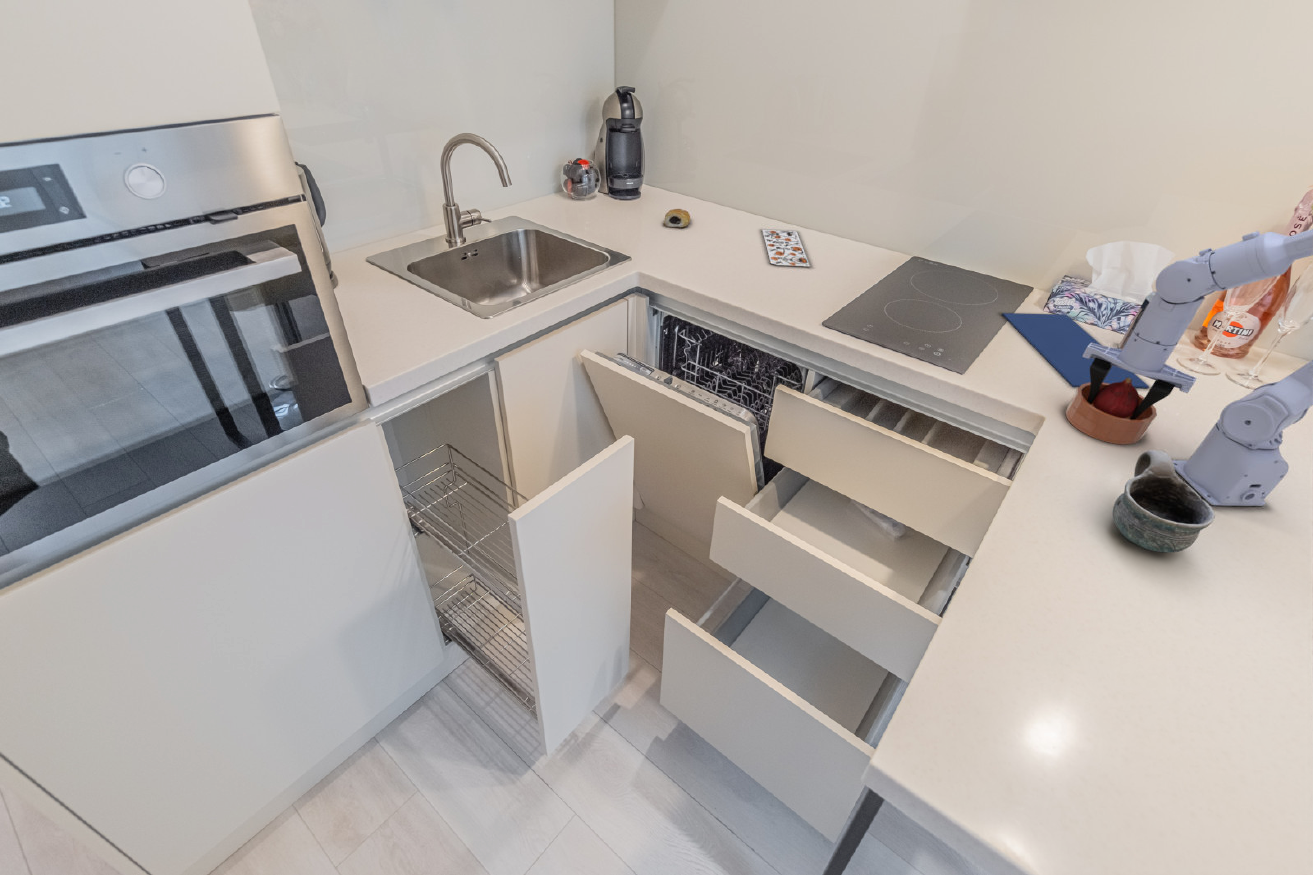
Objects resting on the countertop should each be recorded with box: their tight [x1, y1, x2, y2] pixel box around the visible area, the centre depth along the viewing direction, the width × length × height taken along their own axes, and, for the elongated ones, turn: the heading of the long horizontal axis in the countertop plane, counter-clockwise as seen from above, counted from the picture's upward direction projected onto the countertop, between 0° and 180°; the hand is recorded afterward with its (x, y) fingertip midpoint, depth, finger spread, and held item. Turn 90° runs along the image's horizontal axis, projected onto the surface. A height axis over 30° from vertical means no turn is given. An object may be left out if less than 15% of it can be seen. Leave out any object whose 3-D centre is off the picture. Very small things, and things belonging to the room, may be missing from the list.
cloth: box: [1002, 312, 1150, 389], centre depth 123 cm, size 28×14×1 cm, turn 1°
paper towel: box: [761, 229, 811, 267], centre depth 160 cm, size 24×1×9 cm
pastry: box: [663, 208, 691, 228], centre depth 171 cm, size 9×7×4 cm
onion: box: [1094, 377, 1140, 419], centre depth 100 cm, size 6×6×8 cm
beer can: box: [1117, 291, 1156, 350], centre depth 119 cm, size 5×5×12 cm
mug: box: [1111, 449, 1216, 553], centre depth 81 cm, size 10×12×10 cm
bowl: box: [1065, 383, 1158, 445], centre depth 102 cm, size 11×11×4 cm
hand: (1111, 410), depth 102 cm, fingers closed on onion, 6 cm apart
